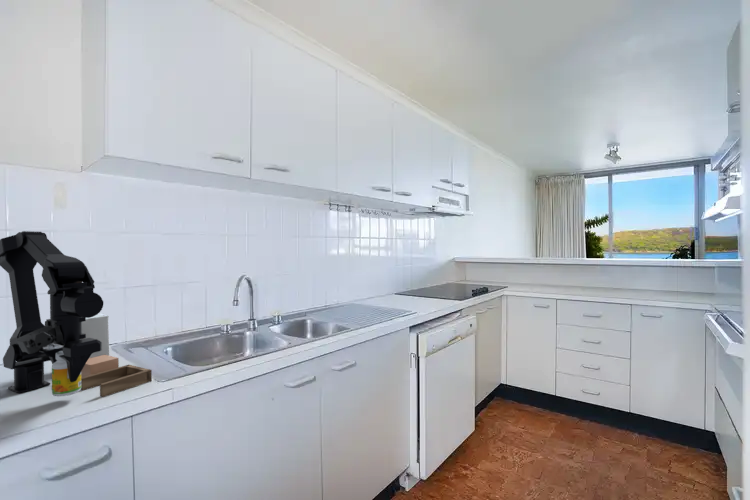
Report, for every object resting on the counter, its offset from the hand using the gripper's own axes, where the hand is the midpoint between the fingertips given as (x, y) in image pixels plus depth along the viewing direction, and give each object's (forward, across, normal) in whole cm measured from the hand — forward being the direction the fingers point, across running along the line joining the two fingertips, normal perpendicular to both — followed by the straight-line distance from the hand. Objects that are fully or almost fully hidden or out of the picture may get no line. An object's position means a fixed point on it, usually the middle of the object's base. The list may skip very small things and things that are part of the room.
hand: (66, 379), depth 88 cm
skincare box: (+5, -23, +16) cm, 29 cm away
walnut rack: (+5, 0, +11) cm, 12 cm away
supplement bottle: (+3, 0, 0) cm, 3 cm away
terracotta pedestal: (+5, -11, +12) cm, 17 cm away
